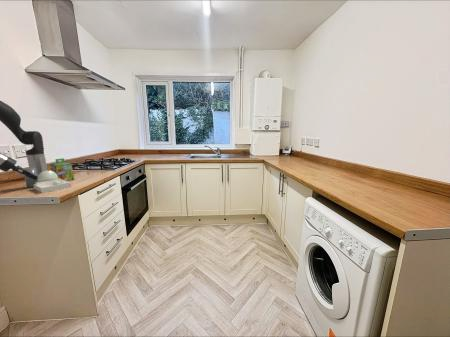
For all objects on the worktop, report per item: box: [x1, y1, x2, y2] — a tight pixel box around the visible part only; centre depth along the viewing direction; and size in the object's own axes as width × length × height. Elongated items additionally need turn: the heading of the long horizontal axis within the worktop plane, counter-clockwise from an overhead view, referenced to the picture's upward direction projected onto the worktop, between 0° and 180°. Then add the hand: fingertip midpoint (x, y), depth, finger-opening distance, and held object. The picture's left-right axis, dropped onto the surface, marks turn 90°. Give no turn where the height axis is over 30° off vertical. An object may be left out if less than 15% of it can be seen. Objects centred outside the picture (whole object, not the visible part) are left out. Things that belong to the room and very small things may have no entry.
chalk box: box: [50, 157, 75, 182], centre depth 130 cm, size 9×9×15 cm
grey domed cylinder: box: [23, 167, 38, 189], centre depth 116 cm, size 5×5×11 cm
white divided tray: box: [33, 170, 72, 194], centre depth 112 cm, size 15×13×10 cm
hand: (35, 178), depth 117 cm, fingers closed on grey domed cylinder, 5 cm apart
